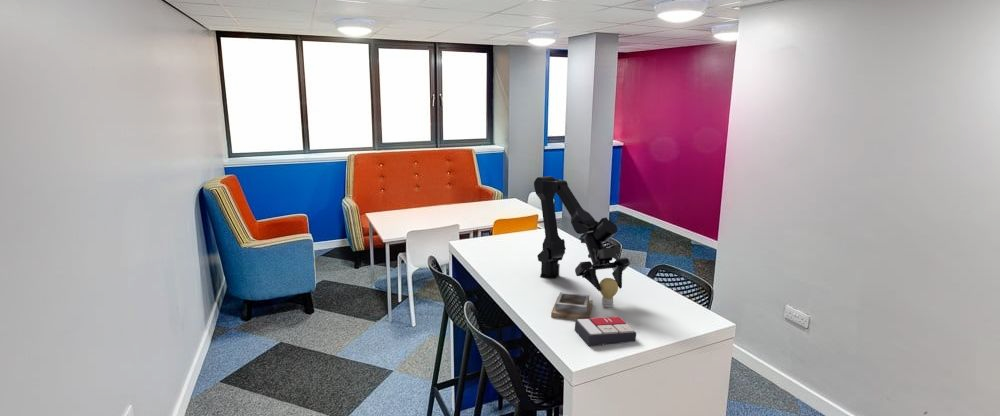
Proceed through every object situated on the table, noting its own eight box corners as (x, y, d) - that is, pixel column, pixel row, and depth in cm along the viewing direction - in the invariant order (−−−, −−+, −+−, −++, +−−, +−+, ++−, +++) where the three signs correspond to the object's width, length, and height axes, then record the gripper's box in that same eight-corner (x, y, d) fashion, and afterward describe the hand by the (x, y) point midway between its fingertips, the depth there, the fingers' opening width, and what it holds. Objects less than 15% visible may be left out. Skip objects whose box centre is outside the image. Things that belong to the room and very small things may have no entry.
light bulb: (617, 304, 178) (619, 276, 176) (615, 311, 172) (617, 283, 170) (599, 301, 180) (600, 274, 178) (596, 308, 174) (598, 280, 172)
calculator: (637, 330, 151) (590, 333, 147) (635, 344, 152) (588, 347, 148) (619, 315, 161) (575, 317, 158) (618, 328, 162) (573, 330, 158)
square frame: (551, 316, 167) (551, 305, 166) (557, 300, 180) (558, 289, 179) (588, 321, 164) (589, 309, 163) (592, 304, 177) (593, 293, 176)
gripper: (580, 239, 172) (595, 282, 164) (629, 235, 178) (645, 276, 170) (569, 255, 181) (582, 296, 173) (615, 250, 187) (630, 290, 179)
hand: (610, 289), depth 173 cm, fingers open, 8 cm apart
